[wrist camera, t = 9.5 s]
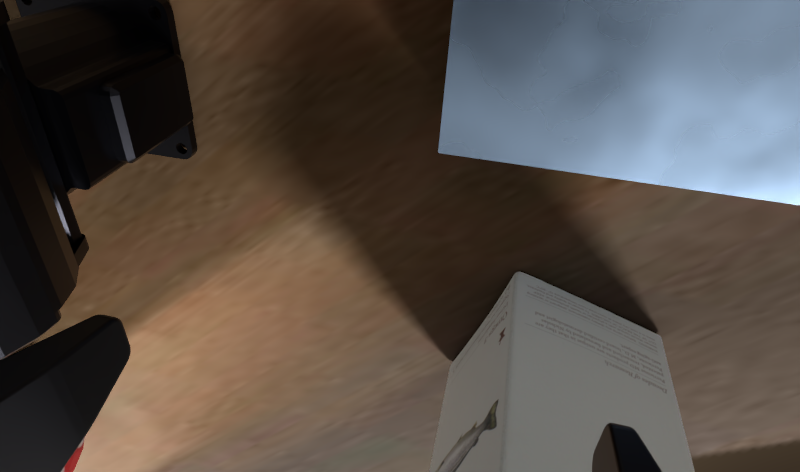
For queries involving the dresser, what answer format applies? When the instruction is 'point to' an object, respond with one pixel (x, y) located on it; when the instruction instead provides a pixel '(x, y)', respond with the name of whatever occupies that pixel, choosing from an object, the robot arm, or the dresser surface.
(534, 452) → the supplement box
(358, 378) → the dresser surface
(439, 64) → the dresser surface
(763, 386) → the dresser surface
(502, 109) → the light blue box
